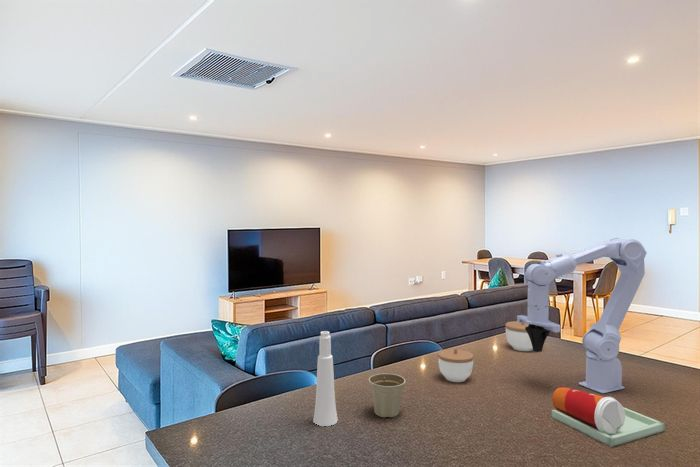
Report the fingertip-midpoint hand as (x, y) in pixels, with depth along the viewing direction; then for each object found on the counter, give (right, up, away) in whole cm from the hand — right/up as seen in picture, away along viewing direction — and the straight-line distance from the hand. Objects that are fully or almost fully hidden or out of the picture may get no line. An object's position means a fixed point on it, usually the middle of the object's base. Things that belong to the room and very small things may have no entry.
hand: (537, 351), depth 133 cm
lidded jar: (-23, -11, +7) cm, 26 cm away
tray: (+6, -11, -24) cm, 27 cm away
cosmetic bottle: (-61, -12, -22) cm, 66 cm away
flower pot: (-46, -11, -18) cm, 50 cm away
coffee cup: (-1, -8, -17) cm, 19 cm away
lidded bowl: (+10, -9, +39) cm, 41 cm away
